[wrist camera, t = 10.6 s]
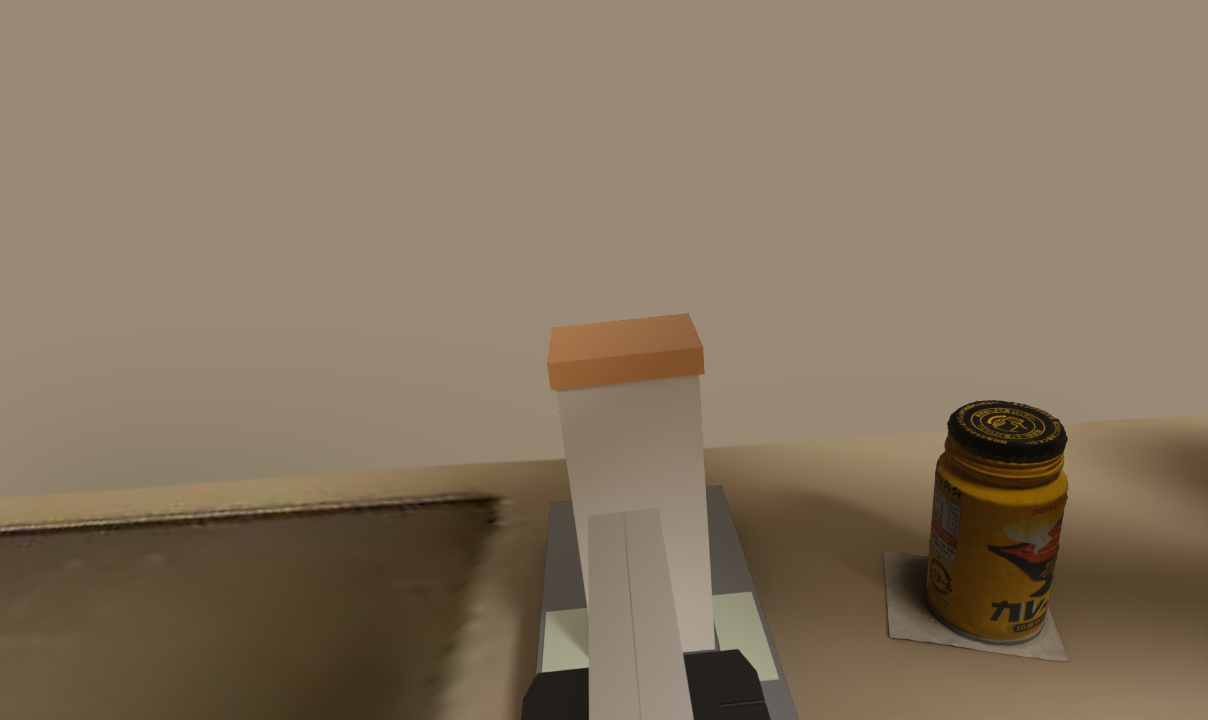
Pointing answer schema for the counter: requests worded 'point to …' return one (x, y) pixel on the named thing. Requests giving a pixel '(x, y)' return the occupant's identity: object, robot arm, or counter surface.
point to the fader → (640, 443)
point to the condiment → (988, 537)
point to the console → (731, 600)
